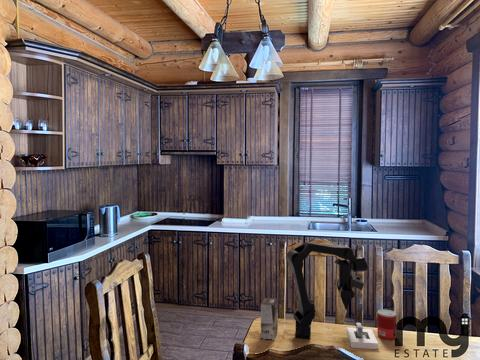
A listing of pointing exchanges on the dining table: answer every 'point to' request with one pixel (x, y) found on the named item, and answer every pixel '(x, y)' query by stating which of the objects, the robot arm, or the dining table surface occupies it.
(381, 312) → the canned food
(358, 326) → the bracket
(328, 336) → the dining table surface
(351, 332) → the well
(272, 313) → the coffee box
